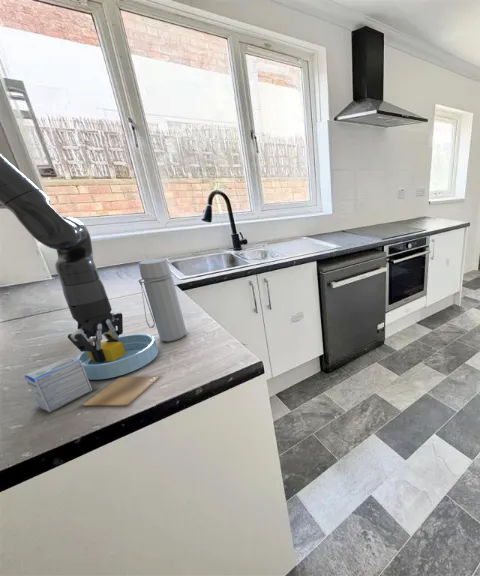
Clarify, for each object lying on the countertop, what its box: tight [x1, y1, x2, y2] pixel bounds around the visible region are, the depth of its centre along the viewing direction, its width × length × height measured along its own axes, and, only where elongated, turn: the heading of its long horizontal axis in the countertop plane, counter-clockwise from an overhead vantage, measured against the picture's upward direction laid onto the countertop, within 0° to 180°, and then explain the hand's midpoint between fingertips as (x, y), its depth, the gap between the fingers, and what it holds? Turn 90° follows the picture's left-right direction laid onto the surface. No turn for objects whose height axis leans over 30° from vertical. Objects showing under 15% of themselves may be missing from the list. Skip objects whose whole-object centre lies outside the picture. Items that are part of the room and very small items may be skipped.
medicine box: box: [24, 356, 93, 413], centre depth 69 cm, size 8×4×9 cm, turn 159°
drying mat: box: [82, 376, 160, 407], centre depth 73 cm, size 10×10×1 cm
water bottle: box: [137, 257, 187, 342], centre depth 93 cm, size 9×8×25 cm
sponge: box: [88, 341, 125, 362], centre depth 83 cm, size 6×4×4 cm, turn 90°
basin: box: [75, 333, 159, 381], centre depth 84 cm, size 16×16×5 cm
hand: (108, 356), depth 84 cm, fingers closed on sponge, 4 cm apart
